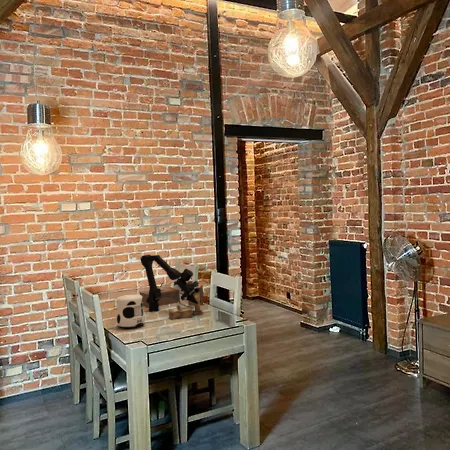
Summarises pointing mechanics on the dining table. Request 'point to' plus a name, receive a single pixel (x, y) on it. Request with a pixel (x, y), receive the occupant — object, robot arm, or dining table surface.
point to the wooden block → (199, 293)
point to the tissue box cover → (163, 296)
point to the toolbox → (183, 314)
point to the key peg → (197, 297)
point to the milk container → (130, 311)
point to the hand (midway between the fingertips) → (199, 303)
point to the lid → (180, 309)
